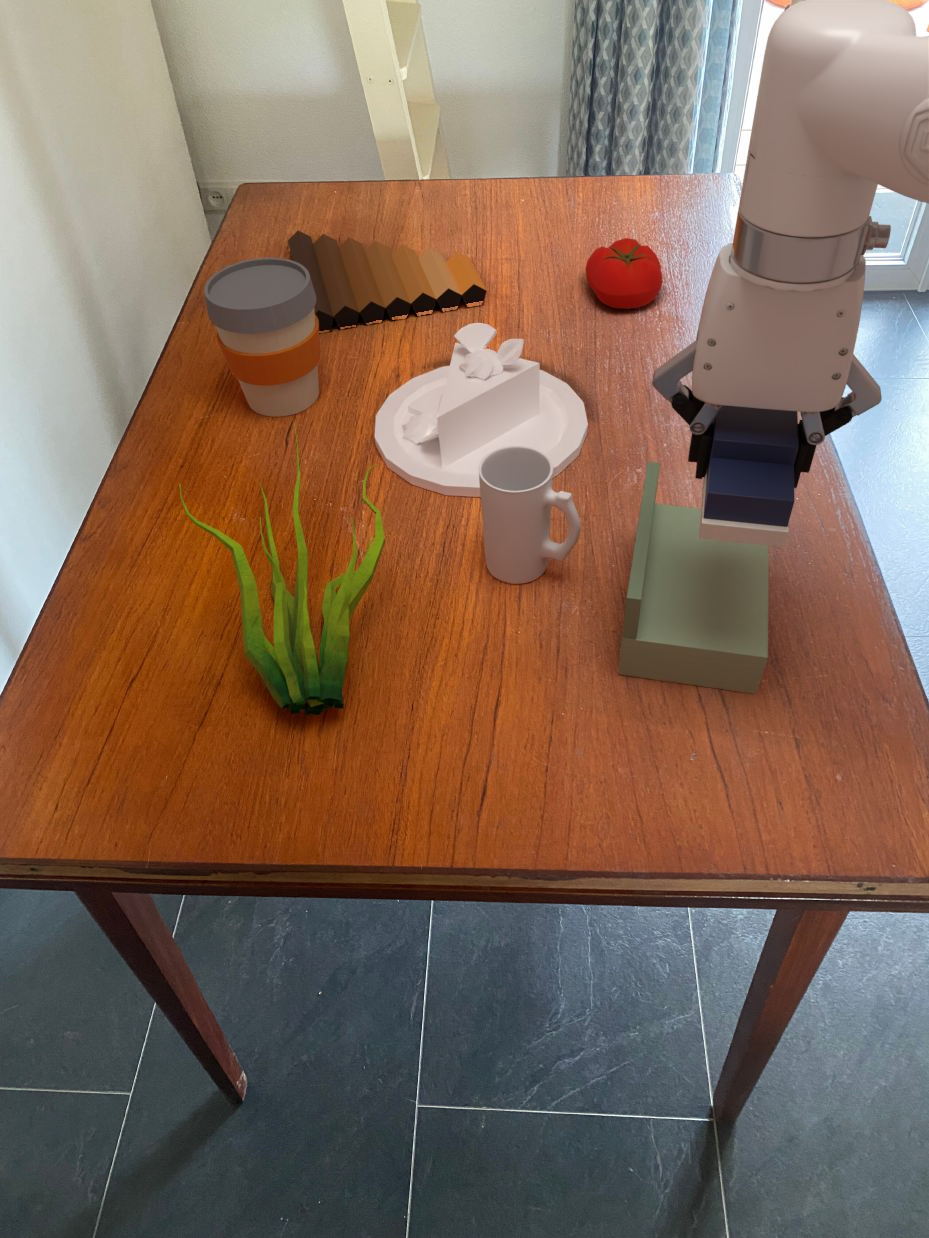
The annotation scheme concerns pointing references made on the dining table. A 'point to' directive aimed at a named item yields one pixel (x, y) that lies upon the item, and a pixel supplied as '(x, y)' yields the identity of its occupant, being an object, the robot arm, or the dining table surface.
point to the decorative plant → (301, 618)
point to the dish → (477, 415)
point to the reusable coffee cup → (268, 332)
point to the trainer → (750, 476)
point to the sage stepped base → (693, 602)
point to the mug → (522, 514)
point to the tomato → (624, 274)
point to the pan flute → (381, 279)
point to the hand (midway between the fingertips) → (745, 470)
